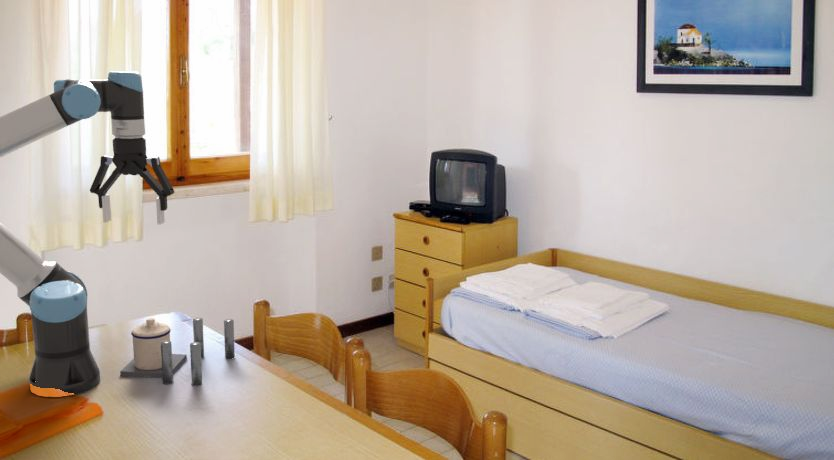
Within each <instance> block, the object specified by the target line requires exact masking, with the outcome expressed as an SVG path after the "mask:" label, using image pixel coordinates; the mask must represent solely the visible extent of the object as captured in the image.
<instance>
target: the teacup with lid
mask: <svg viewBox="0 0 834 460" xmlns="http://www.w3.org/2000/svg"><path fill="white" fill-rule="evenodd" d="M155 320H156V319H155V318H154V317H148V318H147V319H146V320H145V322H143V323H141V324H138V325H136V326H135V327H133V328H132V329H131V333H130V334H131V336H132V346H133V347H132V350H133V359H134V365H135V367H136V368H138V369H141V370H157V369H161V368H162V361H161V342H162V341H171V330H172V329H171V327H170V326H169V325H168V324H166V323H164V322H158V321H155Z"/></svg>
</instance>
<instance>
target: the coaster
mask: <svg viewBox="0 0 834 460" xmlns="http://www.w3.org/2000/svg"><path fill="white" fill-rule="evenodd" d="M187 356H188V355H187V354H182V353H181V354H180V353H172V366H173V375H174V374H175V373H176V372H177V371H178V369H180V368H181V366H182V365H183V363H185V362H186V360H187V359H188V357H187ZM119 375H120V377H134V378H135V377H136V378H155V379H162V368H161V369H157V370H141V369H138V368H136V367H135V365H134V358H133V359H131V360H130V361H129V362H128V363H127V364H126V365H125V366H124V367H123V368H122V369H121V370H120V371H119Z"/></svg>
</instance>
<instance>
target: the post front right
mask: <svg viewBox="0 0 834 460" xmlns="http://www.w3.org/2000/svg"><path fill="white" fill-rule="evenodd" d="M189 352H190V353H189V354H190V373H191V376H190V377H191V386H194V387H198V386H201V385H202V384H203V369H202V358H201V343H200V342H194V341H193V342H190V343H189Z"/></svg>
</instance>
